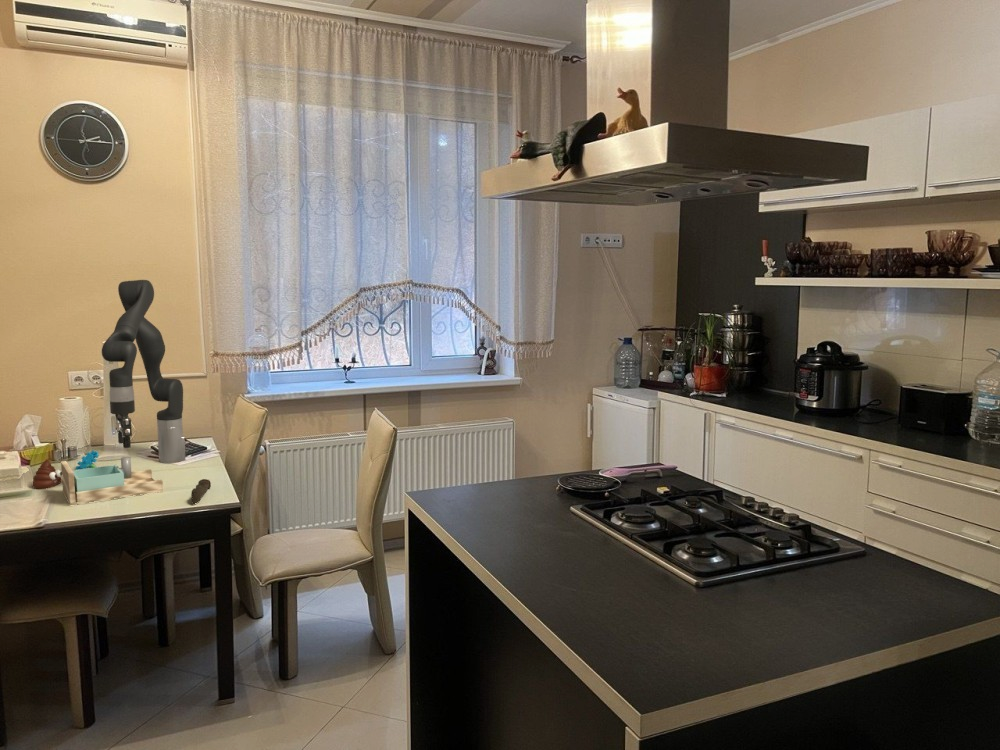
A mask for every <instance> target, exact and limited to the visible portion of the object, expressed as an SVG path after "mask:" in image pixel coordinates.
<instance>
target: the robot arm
mask: <svg viewBox="0 0 1000 750" xmlns="http://www.w3.org/2000/svg"><path fill="white" fill-rule="evenodd" d="M117 289H118V291H117V292H118V296H119V299H120V302H121V304H122V307H123V309H124V313H123V314H121V315H120V317H119V318H118V320H117V321H116V323H115V327H114V330H113V332H112V333H111V334H110V335H109V337H108V338H107V339H106V340H105V341H104V343H103V345H102V347H101V356H102V358H103V359H104V360H105V361H106V362H109V363H114V362H115V363H116V362H117V363H119V362H121V363H124V364H123V366H122V367H117V368H113V369H111V370H109V374H108V375H109V376H108V378H109V392H108V393H109V407H110V408H109V409H110V410H109V411H110V414H111V415H114V417H115V430H116V433H117V440H118V441H117V442H118V444H121V445H122V447H123V448H124V449H129V448H131V447H132V445H131V438H132V435H133V433H132V419H131V417H129V414H133V413H134V412H135V411H136V407H135V406H136V405H135V390H134V383H133V380H134V379H133V372H134V371H133V370H134V367H135V365H134V364H135V361H136V358H137V353H138V352H139V353H140V357H141V359H142V363H143V367H144V370H145V373H146V379H147V382H148V387H149V388H148V389H149V392H150V395H151V397H152V399H154V401H156V402H163V403H164V402H165V403H166V402H167V407H166V408H165V409H161V410H159V411H157V412H156V424H157V425H156V426H157V446H158V447H157V449H158V462H159V463H164V464H173V463H179V462H182V460H183V461H186V444H185V443H186V441H185V440H186V439H185V438H186V437H185V436H184V430H183V429H184V428H183V427H184V426H183V410H184V386H183V382H182V381H181V380H180V379H179V378H164V377H163V376H162V371H161V365H162V364H161V363H162V361H163V359H164V357H165V353H166V345H165V342H164V338H163V335H162V333H161V331H160V330H159V328H157V327H156V326H155V325H154V324H153V323H152V322H151V321H150V320H148V319H147V317H145V315H146V314H147V312H148V310H149V309H150V307H151V305H152V304H153V302H154V298H155V289H154V286H153V283H152V282H151V281H150V280H147V279H135V280H125V281H121V282H120V283H119V284H118V288H117ZM134 342H135V343H136V344H135V343H134Z"/></svg>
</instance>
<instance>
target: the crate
mask: <svg viewBox="0 0 1000 750" xmlns="http://www.w3.org/2000/svg"><path fill="white" fill-rule="evenodd" d="M131 460H132V459H131V456H123V457H121V458H120V466H121V467H119V466H118V465H117V464H112V465H111V464H110V465H104V466H96V467H95V468H87V469H80V470H77V469H72V471H73V472H74V485H75V495H76V492H81V491H88V490H95V489H102V488H108V487H115V486H122V485H124V479H129V478H131V477H132V474H131V472H132V461H131Z"/></svg>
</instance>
